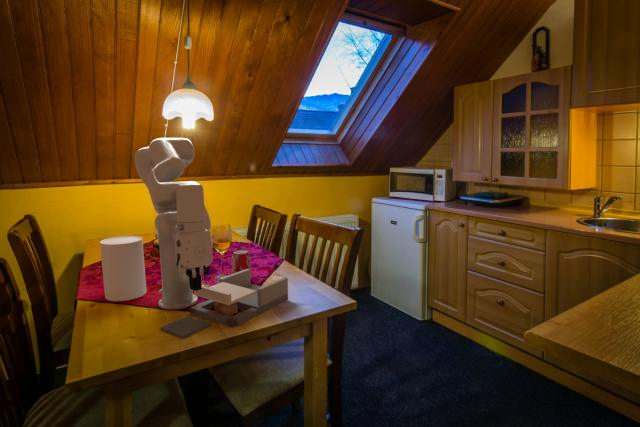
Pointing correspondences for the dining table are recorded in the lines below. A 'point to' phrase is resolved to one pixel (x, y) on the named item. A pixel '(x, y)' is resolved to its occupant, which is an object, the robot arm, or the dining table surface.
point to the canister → (123, 267)
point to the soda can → (240, 261)
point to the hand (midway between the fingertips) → (195, 289)
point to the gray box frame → (246, 300)
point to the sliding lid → (225, 293)
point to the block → (226, 308)
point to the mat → (185, 326)
